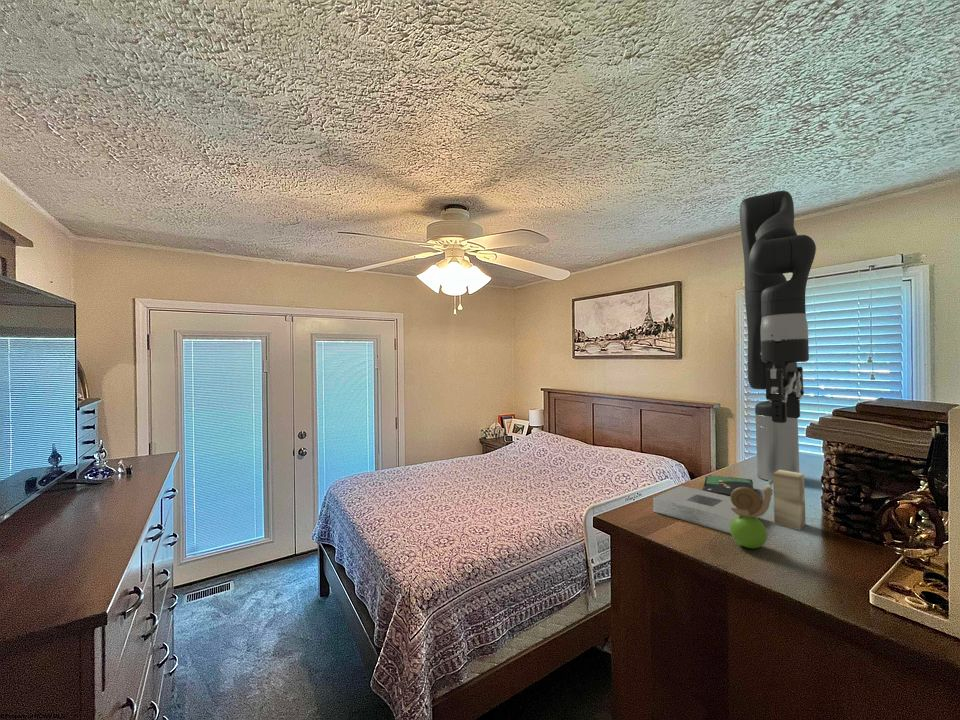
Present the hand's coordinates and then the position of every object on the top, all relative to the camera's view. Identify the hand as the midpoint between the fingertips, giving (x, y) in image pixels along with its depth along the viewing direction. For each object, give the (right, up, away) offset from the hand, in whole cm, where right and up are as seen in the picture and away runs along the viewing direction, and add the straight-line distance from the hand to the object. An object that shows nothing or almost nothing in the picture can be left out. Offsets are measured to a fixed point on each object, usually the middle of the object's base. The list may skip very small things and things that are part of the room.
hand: (786, 420), depth 79 cm
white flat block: (-13, -21, +6) cm, 25 cm away
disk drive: (0, -21, +18) cm, 28 cm away
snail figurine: (-13, -21, -9) cm, 27 cm away
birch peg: (+1, -21, 0) cm, 21 cm away
